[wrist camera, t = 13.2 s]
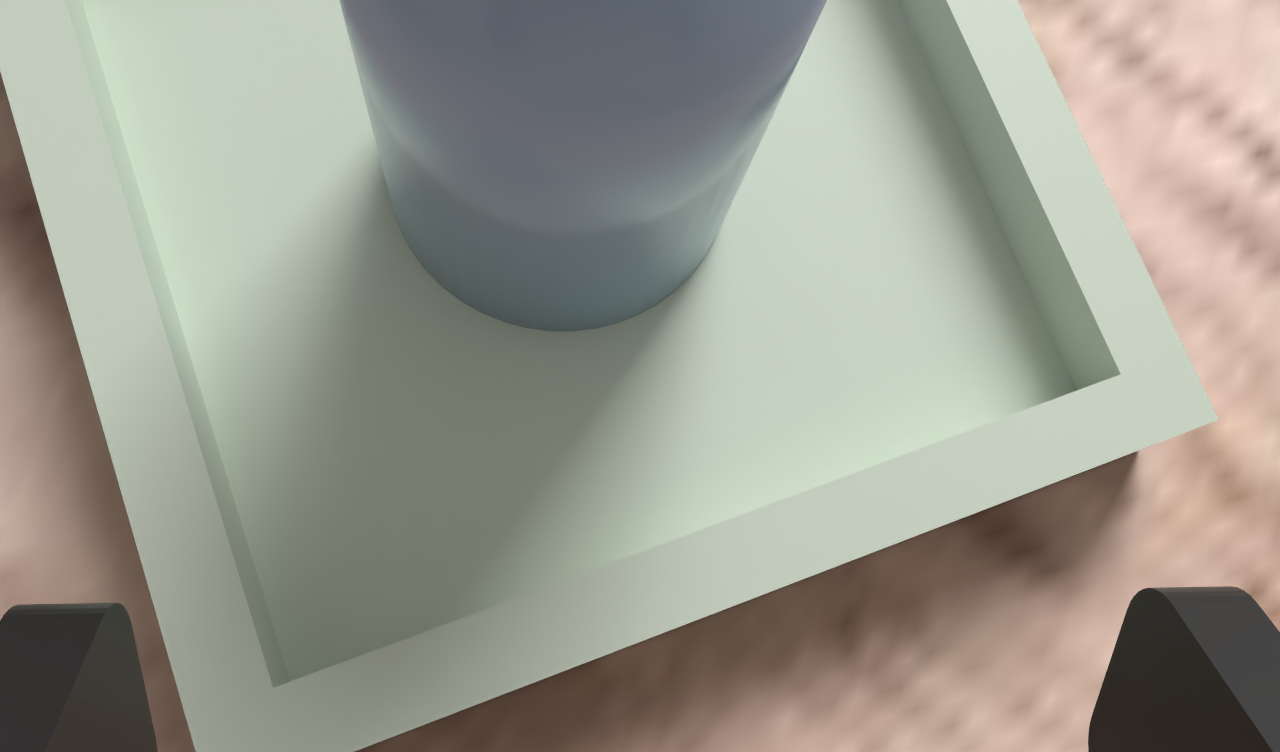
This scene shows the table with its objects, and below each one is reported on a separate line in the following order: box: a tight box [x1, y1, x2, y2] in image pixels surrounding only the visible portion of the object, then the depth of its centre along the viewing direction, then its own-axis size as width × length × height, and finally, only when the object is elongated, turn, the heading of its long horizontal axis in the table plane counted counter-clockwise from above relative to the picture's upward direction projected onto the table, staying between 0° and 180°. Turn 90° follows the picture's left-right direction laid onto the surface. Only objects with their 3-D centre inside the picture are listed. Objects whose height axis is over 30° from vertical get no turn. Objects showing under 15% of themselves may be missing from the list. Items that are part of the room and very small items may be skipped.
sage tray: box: [0, 0, 1219, 752], centre depth 21 cm, size 16×16×2 cm
